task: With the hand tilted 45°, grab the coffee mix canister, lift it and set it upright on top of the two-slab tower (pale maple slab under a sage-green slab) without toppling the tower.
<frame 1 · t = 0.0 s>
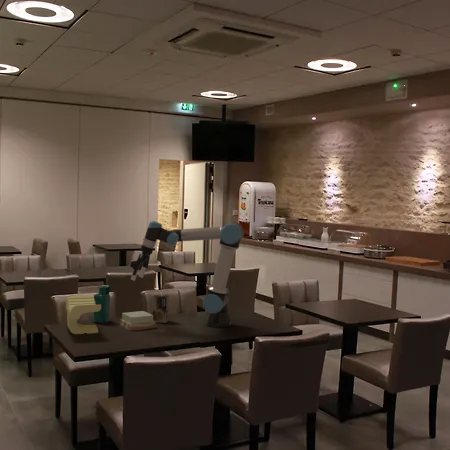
hand: (136, 278, 334), 28 cm above the table, tool tilted 20°, fingers open, 13 cm apart
tower top: (137, 320, 328), point 3 cm above the table, touching tower base
tower base: (137, 327, 329), on the table, touching tower top
slatted curved stool: (82, 331, 314), on the table
coffee box: (160, 321, 343), on the table
green bottle: (102, 321, 339), on the table
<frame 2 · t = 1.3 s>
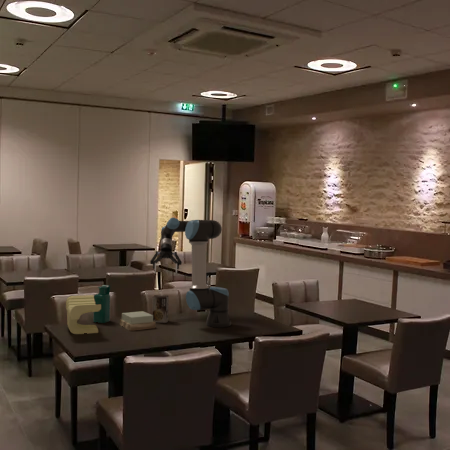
hand: (165, 272, 352), 29 cm above the table, tool tilted 45°, fingers open, 13 cm apart
nothing on the table moved.
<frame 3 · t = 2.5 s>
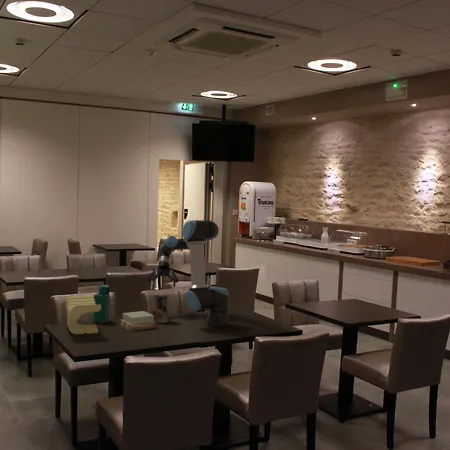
hand: (162, 290, 353), 18 cm above the table, tool tilted 45°, fingers open, 13 cm apart
nothing on the table moved.
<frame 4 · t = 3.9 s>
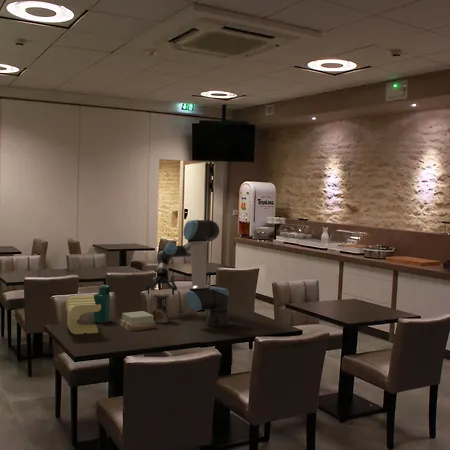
hand: (160, 298, 349), 13 cm above the table, tool tilted 45°, fingers open, 13 cm apart
nothing on the table moved.
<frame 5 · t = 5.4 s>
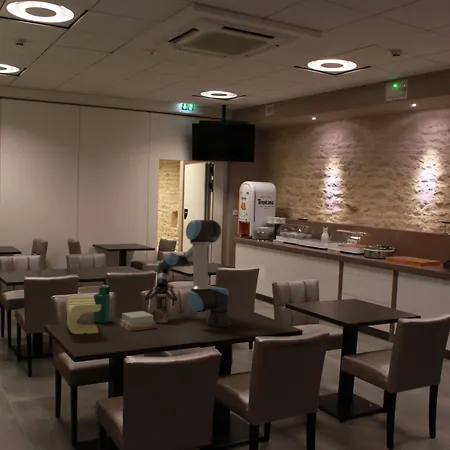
hand: (160, 309, 341), 8 cm above the table, tool tilted 45°, fingers open, 13 cm apart
nothing on the table moved.
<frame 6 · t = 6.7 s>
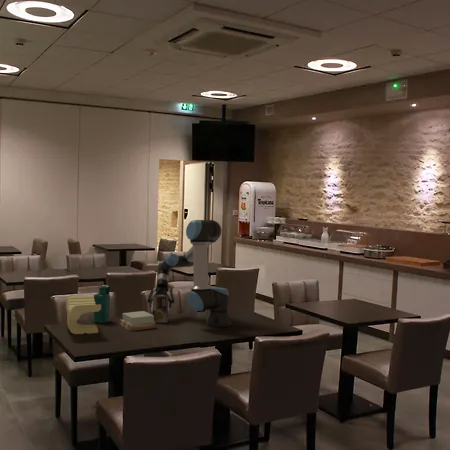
hand: (160, 311, 340), 7 cm above the table, tool tilted 45°, fingers closed on coffee box, 9 cm apart
coffee box: (160, 321, 343), on the table, touching gripper
everything else where it was.
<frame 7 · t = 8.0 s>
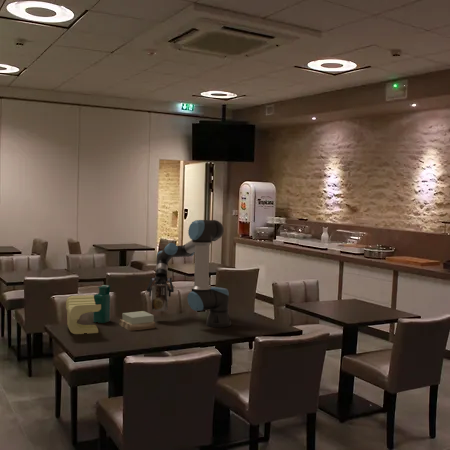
hand: (159, 300, 340), 14 cm above the table, tool tilted 45°, fingers closed on coffee box, 9 cm apart
coffee box: (159, 310, 344), point 7 cm above the table, touching gripper
everything else where it was.
when the fingers open (17 cm above the table, at t = 13.7 s): coffee box drops 3 cm, resting on tower top.
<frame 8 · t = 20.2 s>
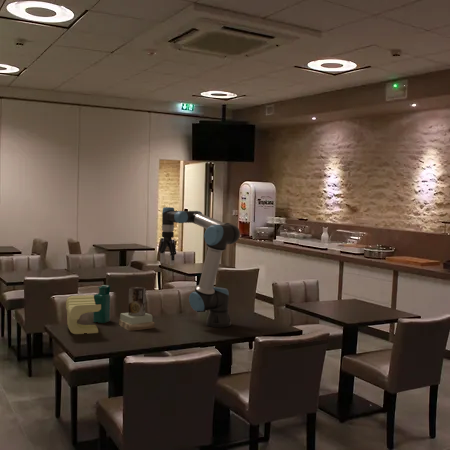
hand: (167, 264, 353), 35 cm above the table, tool pointing down, fingers open, 13 cm apart
tower top: (136, 321, 328), point 3 cm above the table, touching coffee box, tower base
coffee box: (136, 314, 328), point 7 cm above the table, touching tower top
everything else where it was.
at the end: coffee box inside the target area on the tower top (0.5 cm from its centre), point 3.8 cm above the tower top's base; coffee box tilted 0°; tower top 0.2 cm off-centre on the tower base, point 4.0 cm above the tower base's base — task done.
